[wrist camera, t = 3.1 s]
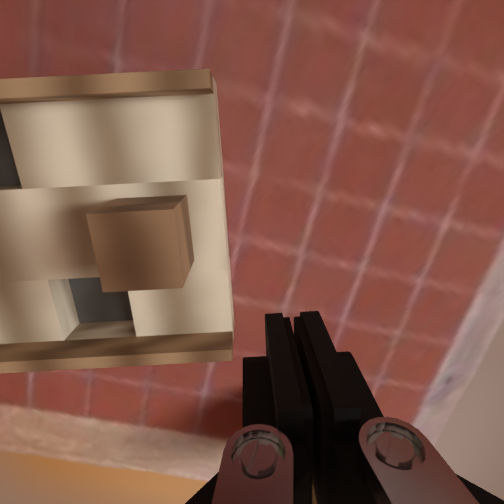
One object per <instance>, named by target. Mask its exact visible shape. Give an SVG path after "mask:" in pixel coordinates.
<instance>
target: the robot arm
mask: <svg viewBox="0 0 504 504" xmlns="http://www.w3.org/2000/svg"><path fill="white" fill-rule="evenodd" d="M265 333H266V356H261V357H243V428H241V429H240V430H238V431H237V432H235V433H234V434H233V435H232V436H231V437H230V439H229V440H228V441H227V444H226V446H225V448H224V452H223V456H222V460H221V465H220V469H219V472H218V473H217V474H216V475H215V476H214V477H213V478H212V479H211V480H210V481H209V482H207V483H206V484H205V485H204V486H203V487H202V488H201V489H200V490H199V491H198V492H197V493H196V494H195V495H194V496H193V497H192V498H191V499H189V500H188V501H187V502H186V503H185V504H312V487H314V491H315V496H316V501H317V504H504V501H503V500H501V499H500V498H498V497H496V496H494V495H493V494H491V493H489V492H487V491H485V490H484V489H482V488H480V487H478V486H476V485H475V484H473V483H471V482H469V481H468V480H466V479H464V478H462V477H460V476H459V475H457V474H455V473H454V471H453V470H452V469H451V468H450V466H449V465H448V464H447V463H446V461H445V460H444V459H443V458H442V457H441V455H440V454H439V453H438V451H437V450H436V449H435V448H434V446H433V445H432V444H431V443H430V441H429V440H428V439H427V438H426V437H425V436H424V435H423V434H422V433H421V432H420V431H419V430H418V429H417V428H415V427H413V426H412V425H410V424H409V423H407V422H404V421H402V420H399V419H396V418H390V417H384V416H383V415H382V413H381V411H380V409H379V407H378V405H377V403H376V401H375V399H374V397H373V395H372V393H371V391H370V389H369V387H368V385H367V383H366V381H365V379H364V377H363V375H362V373H361V371H360V369H359V367H358V365H357V363H356V361H355V359H354V358H353V356H352V354H351V353H350V352H336V350H335V347H334V345H333V343H332V341H331V338H330V336H329V334H328V332H327V329H326V327H325V325H324V322H323V320H322V318H321V316H320V313H319V312H318V311H309V312H300V317H294V333H293V330H292V326H291V322H290V318H289V317H283V314H282V313H273V314H265Z"/></svg>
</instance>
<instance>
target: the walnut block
mask: <svg viewBox="0 0 504 504" xmlns="http://www.w3.org/2000/svg"><path fill="white" fill-rule="evenodd" d="M86 217H87V222H88V227H89V231H90V236H91V240H92V245H93V249H94V254H95V259H96V263H97V268H98V272H99V277H100V281H101V286H102V291H103V292H121V291H139V290H158V289H177V288H183V287H184V284H185V282H186V279H187V277H188V275H189V272H190V270H191V267H192V265H193V262H194V252H193V244H192V235H191V226H190V217H189V208H188V199H187V195H174V196H155V197H136V198H117V199H115V200H113V201H111V202H109V203H107V204H105V205H103V206H101V207H99V208H97V209H95V210H93V211H91V212H89V213H87V214H86Z"/></svg>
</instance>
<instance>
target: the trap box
mask: <svg viewBox="0 0 504 504" xmlns="http://www.w3.org/2000/svg"><path fill="white" fill-rule="evenodd" d="M174 195H187V199H188V208H189V217H190V226H191V235H192V244H193V252H194V262H193V265H192V267H191V270H190V272H189V275H188V277H187V279H186V282H185V284H184V287H183V288H177V289H158V290H139V291H121V292H103V291H102V286H101V281H100V277H99V272H98V268H97V263H96V259H95V254H94V249H93V245H92V240H91V236H90V231H89V227H88V222H87V217H86V214H87V213H89V212H91V211H93V210H95V209H97V208H99V207H101V206H103V205H105V204H107V203H109V202H111V201H113V200H115V199H117V198H136V197H155V196H174ZM233 340H234V311H233V298H232V284H231V271H230V258H229V245H228V231H227V218H226V205H225V192H224V178H223V165H222V152H221V139H220V125H219V112H218V99H217V86H216V82H215V80H214V78H213V76H212V74H211V72H210V70H209V69H192V70H172V71H152V72H132V73H112V74H92V75H72V76H52V77H32V78H12V79H0V373H14V372H33V371H51V370H69V369H87V368H105V367H123V366H142V365H160V364H178V363H196V362H214V361H232V359H233Z"/></svg>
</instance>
